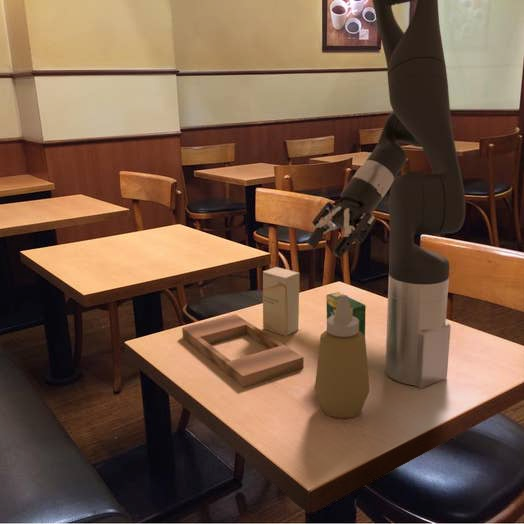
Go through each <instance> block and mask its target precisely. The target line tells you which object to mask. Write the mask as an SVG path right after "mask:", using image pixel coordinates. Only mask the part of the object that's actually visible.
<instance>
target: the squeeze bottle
mask: <svg viewBox="0 0 524 524" xmlns="http://www.w3.org/2000/svg"><path fill="white" fill-rule="evenodd" d="M348 297H349V296H348V295H347V294H344V295H340V296H339V299H338V303H337V308H336V312H335V315H333V316H330V317H329V318H328V319H327V318H326V330H325V331H323V332H322V333H321V334H320V337H319V338H320V339H319V346H318V347H319V348H318V354H317V355H318V356H317V364H316V372H315V373H316V375H315V383H314V390H315V393H316V396H317V397H318V400H319V404H320V406H321V408H322V410H323V412H324V413H325V414H327V415H328V416H330V417H333V418H336V419H337V418H339V419H347V418H349V419H350V418H353V417H356V416H357V415H359V414H360V413H361V412H362V410H363V407H364V405H365V402H366V400H367V397H368V395H369V393H370V382H369V381H370V379H369V369H368V366H369V365H368V355H367V353H368V352H367V343H366V335H365V336H364V335H363V334H362V333H361V332H360V331H359V320H358V319H357V318H356V317H354V316H352V315H351V310H350V306H349V301H348Z"/></svg>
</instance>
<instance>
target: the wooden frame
mask: <svg viewBox="0 0 524 524" xmlns="http://www.w3.org/2000/svg"><path fill="white" fill-rule="evenodd" d="M181 328H182V329H181V331H182V333H181V334H182V338H183V339H185V340H186V341H187V342H188V343H189V344H191V346H193V347H194V348H196V349H197V351H199V352H201V353H202V354H203V355H204V356H205V357H206V358H207V359H209V360H210V361H211V362H212V363H214V364H215V365H216V367H218V368H219V369H220V370H222V371H223V372H225V373H226V374H227V375H228V376H229V377H231V378H232V379H233V380H234V381H236V383H238V384H239V385H240V386H241V387H243V388H245V387H248V386H251V385H256V384H257V383H261V382H263V381H267V380H270V379H273V378H276V377H280V376H282V375H285V374H288V373H291V372H294V371H297V370H300V369H303V368H304V366H305V365H304V363H305V362H304V361H305V360H304V358H305V357H304V356H303V355H301V354H299V353H298V352H297V351H296V350H293V349H291V348H290V347H288V346H286V345H285V344H283V343H282V342H281V341H279V340H278V339H276V338H274V337H273V336H271V335H269V334H268V333H266V332H265V331H263V330H261V329H260V328H258V327H257V326H255V325H253V324H252V323H250V322H249V321H247V320H246V319H244V318H243V317H241V316H239V315H238V314H236V313H235V314H232V315H231V314H230V315H226V316H224V317H219V318H216V319H211V320H207V321H203V322H199V323H195V324H191V325H187V326H184V327H181ZM244 335H247V336H248V337H250V338H252V339H253V340H255V341H256V342H258V343H259V344H260V345H262V346H263V347H265V348H266V350H263V351H259V352H256V353H252V354H248V355H245V356H242V357H239V358H236V359H232V360H230V359H229V358H228V357H226V356H225V355H224V354H223V353H222V352H220V351H219V350H218V349H216V348H215V347H213V345H212V344H216V343H218V342H223V341H226V340H230V339H234V338H237V337H241V336H244Z"/></svg>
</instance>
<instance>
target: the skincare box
mask: <svg viewBox="0 0 524 524" xmlns="http://www.w3.org/2000/svg"><path fill="white" fill-rule="evenodd" d="M299 303H300V272H297V271H295V270H290V269H286V268H283V267H279V266H275V267H273V268H269V269H266V270H263V271H262V328H263V329H265V330H267V331H270V332H273V333H276V334H278V335H281V336H283V337H284V336H285V337H286V336H288V335H291V334H292V333H294V332H297V331H299V317H300V316H299V314H300V313H299V310H300V305H299Z"/></svg>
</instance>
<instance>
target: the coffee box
mask: <svg viewBox="0 0 524 524" xmlns="http://www.w3.org/2000/svg"><path fill="white" fill-rule="evenodd" d="M340 295H345V294H344V293H341V292H339V291H338V292H333V293H328V294H326V296H325V298H326V320H327V319H328V318H329V317H330V316H333V315H335V312H336V308H337V303H338V299H339V296H340ZM348 301H349V306H350V310H351V315H352V316H354V317H356V318H357V319H358V320H359V331H360V332H361V333H362V334H363V335H364V336H365V337H366V309H367V308H366V307H367V305H366V304H364V303H362V302H360V301H358V300H355V298H351V297H349V296H348Z"/></svg>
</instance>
